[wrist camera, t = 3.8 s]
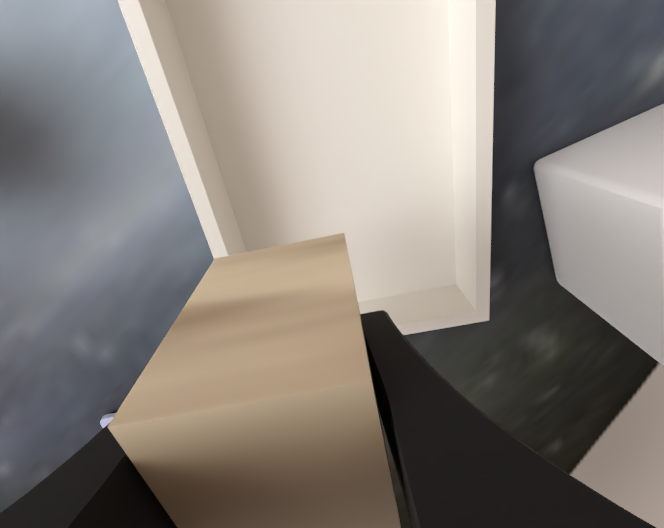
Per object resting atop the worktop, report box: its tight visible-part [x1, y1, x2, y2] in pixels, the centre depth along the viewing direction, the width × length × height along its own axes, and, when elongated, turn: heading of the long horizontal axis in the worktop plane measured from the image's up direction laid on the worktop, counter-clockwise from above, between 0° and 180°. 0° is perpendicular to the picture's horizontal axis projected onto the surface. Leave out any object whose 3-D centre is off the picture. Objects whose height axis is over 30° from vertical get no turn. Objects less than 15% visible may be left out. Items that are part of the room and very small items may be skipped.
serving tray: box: [118, 0, 496, 335], centre depth 14 cm, size 17×11×3 cm, turn 10°
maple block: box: [108, 233, 401, 528], centre depth 9 cm, size 4×4×6 cm
